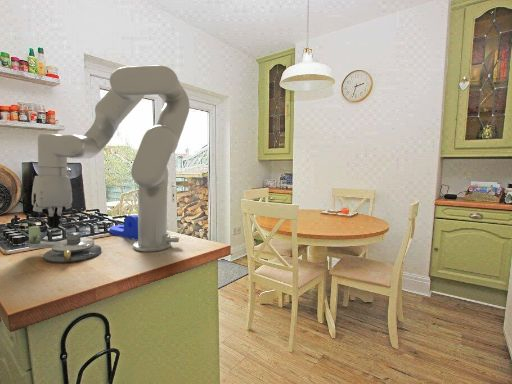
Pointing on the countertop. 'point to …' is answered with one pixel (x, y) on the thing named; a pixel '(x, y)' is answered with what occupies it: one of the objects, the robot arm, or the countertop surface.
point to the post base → (72, 255)
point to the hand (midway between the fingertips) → (53, 227)
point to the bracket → (127, 228)
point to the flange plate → (70, 243)
